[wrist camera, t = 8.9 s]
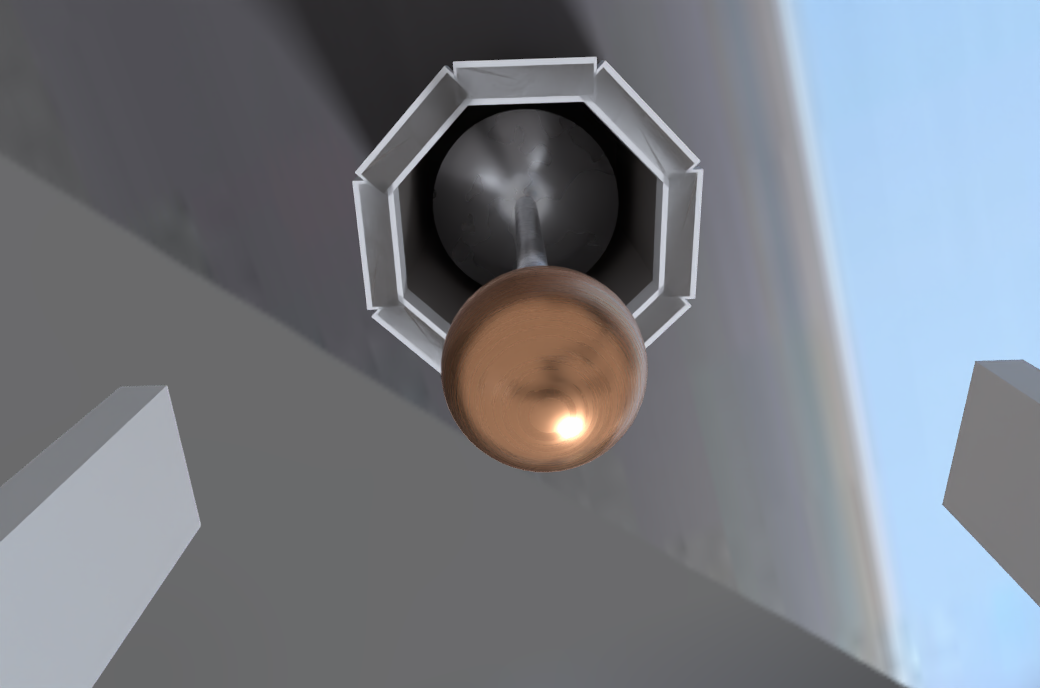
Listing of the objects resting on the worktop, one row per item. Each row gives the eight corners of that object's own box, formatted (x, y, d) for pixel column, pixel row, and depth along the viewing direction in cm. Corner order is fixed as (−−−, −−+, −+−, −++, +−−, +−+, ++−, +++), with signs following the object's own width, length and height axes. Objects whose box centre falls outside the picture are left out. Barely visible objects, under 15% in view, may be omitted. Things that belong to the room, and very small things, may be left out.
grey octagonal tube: (399, 64, 37) (338, 65, 24) (639, 55, 37) (710, 52, 24) (424, 353, 43) (387, 481, 30) (630, 346, 43) (683, 471, 30)
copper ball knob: (427, 111, 31) (289, 196, 12) (617, 105, 31) (800, 178, 12) (441, 293, 34) (350, 602, 15) (614, 287, 34) (753, 588, 15)
